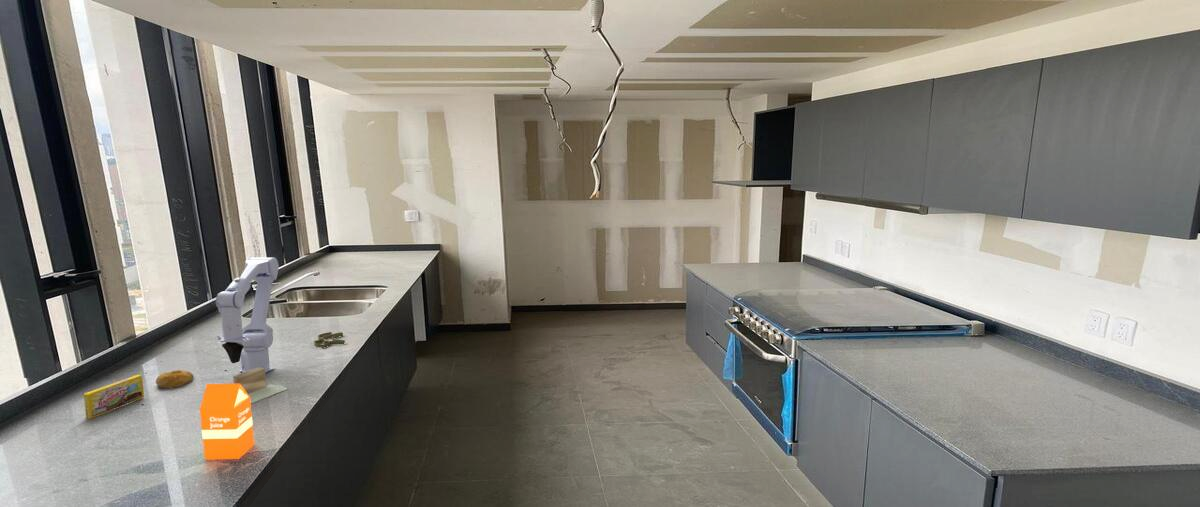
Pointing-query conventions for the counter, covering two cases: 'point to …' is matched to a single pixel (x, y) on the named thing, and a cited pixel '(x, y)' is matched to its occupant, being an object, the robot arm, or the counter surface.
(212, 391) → the orange juice
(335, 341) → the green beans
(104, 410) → the candy box
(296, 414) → the counter surface
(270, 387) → the sage mat
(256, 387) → the maple tile
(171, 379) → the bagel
